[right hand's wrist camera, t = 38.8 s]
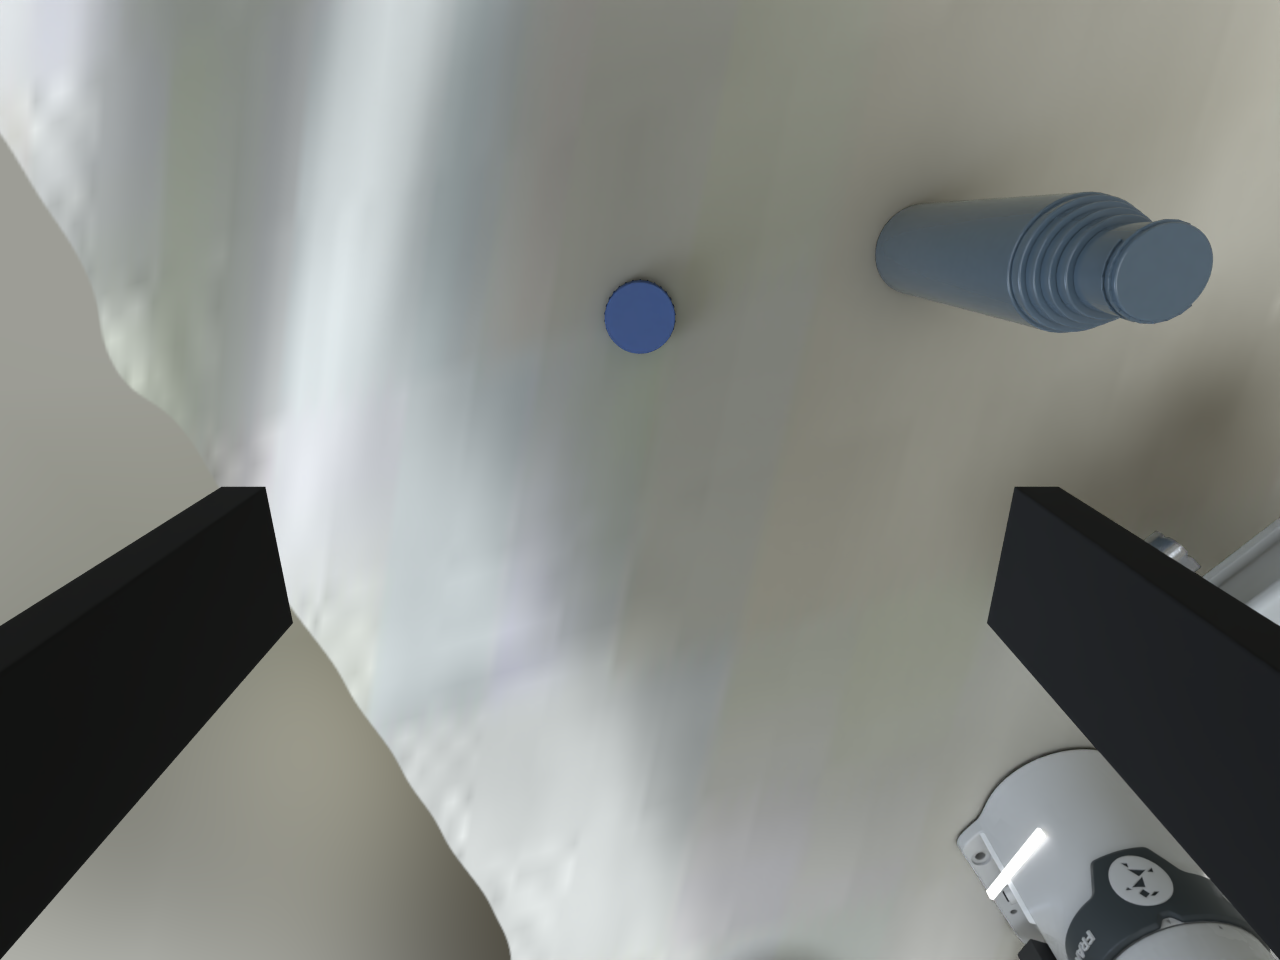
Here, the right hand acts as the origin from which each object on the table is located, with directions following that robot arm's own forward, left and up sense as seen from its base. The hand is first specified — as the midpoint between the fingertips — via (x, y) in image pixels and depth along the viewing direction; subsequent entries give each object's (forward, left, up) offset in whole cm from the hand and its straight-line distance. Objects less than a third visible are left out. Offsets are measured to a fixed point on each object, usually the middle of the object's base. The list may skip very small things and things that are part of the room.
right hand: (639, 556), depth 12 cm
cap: (0, 0, -34) cm, 34 cm away
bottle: (-3, +18, -35) cm, 40 cm away
